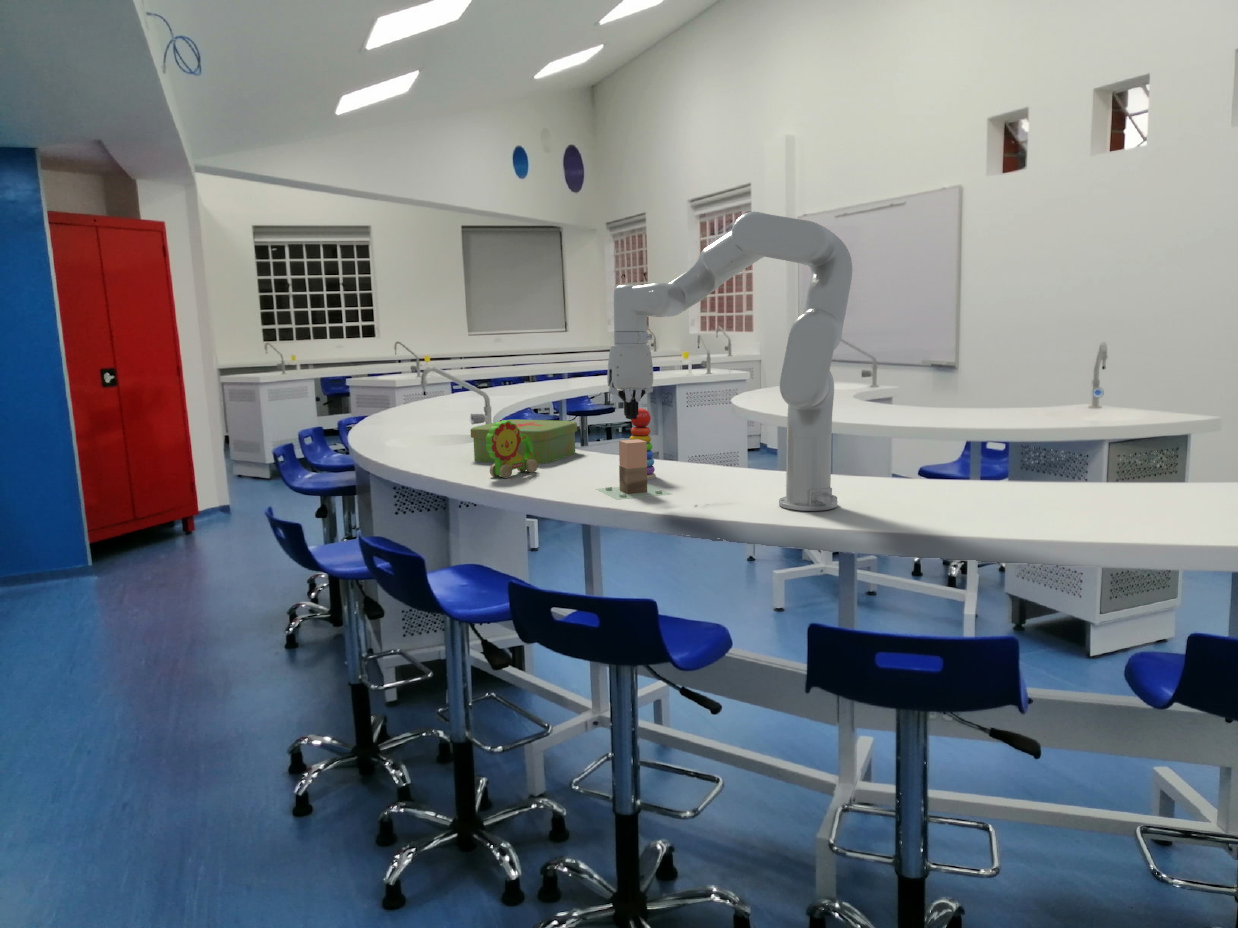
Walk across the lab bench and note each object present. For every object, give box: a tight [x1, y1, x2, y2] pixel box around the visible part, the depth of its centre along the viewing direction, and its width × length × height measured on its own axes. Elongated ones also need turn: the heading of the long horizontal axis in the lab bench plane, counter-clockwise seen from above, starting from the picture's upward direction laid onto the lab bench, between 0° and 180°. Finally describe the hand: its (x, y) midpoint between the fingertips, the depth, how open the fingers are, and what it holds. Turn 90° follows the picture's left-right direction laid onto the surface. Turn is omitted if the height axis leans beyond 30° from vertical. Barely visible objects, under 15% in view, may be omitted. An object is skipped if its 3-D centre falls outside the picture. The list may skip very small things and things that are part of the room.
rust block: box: [618, 439, 647, 469], centre depth 208 cm, size 5×5×6 cm
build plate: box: [595, 483, 673, 501], centre depth 209 cm, size 14×14×2 cm
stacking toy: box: [629, 407, 657, 480], centre depth 226 cm, size 8×8×19 cm
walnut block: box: [618, 465, 648, 494], centre depth 209 cm, size 5×5×6 cm
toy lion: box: [486, 419, 539, 479], centre depth 239 cm, size 16×5×15 cm, turn 141°
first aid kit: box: [470, 419, 578, 465], centre depth 273 cm, size 26×26×10 cm
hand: (631, 418), depth 206 cm, fingers closed
